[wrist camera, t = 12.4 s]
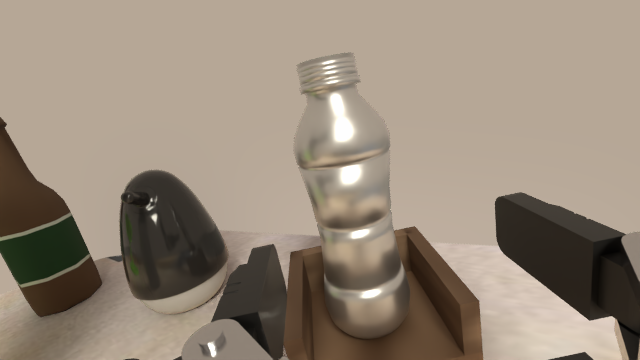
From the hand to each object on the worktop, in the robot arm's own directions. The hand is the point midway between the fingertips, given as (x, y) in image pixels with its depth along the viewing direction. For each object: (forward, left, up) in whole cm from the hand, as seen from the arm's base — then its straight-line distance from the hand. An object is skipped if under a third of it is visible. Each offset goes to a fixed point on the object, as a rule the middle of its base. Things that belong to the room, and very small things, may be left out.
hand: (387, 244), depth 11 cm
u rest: (0, +11, -13) cm, 17 cm away
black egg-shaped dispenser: (-19, +21, -14) cm, 31 cm away
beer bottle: (-38, +27, -14) cm, 48 cm away
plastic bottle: (0, +11, -13) cm, 17 cm away
